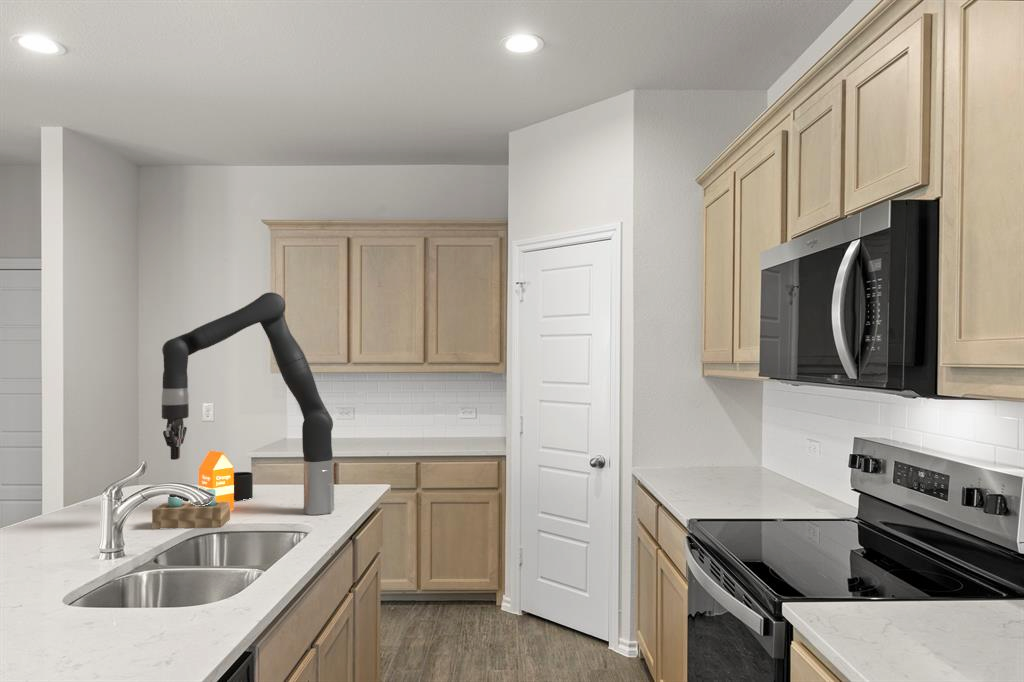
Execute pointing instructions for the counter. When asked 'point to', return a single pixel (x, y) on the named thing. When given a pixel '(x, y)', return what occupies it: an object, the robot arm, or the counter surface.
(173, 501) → the peg
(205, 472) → the orange juice
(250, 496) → the black cylinder
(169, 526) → the oak block
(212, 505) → the peg
